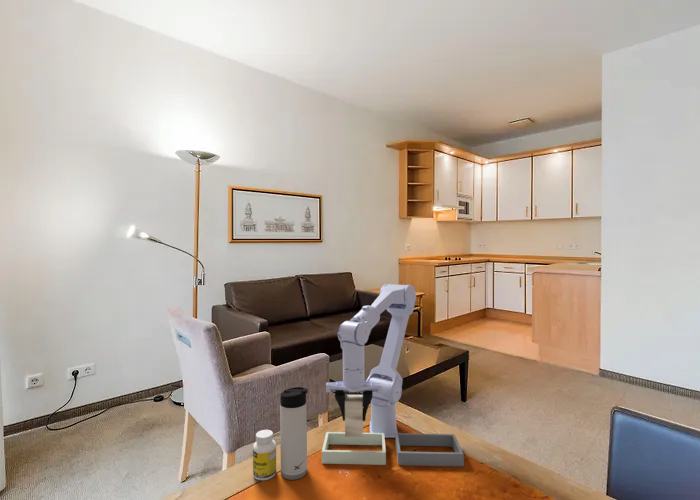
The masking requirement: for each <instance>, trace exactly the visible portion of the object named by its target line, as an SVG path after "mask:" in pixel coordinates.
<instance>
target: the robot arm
mask: <svg viewBox="0 0 700 500" xmlns="http://www.w3.org/2000/svg"><path fill="white" fill-rule="evenodd" d="M416 301H417V292H416V288H415V287H414V285H413V284H394V283H393V284H392V283H385V284H383V285H382V286H381V288H380V290H379V295H378V296H377V297H376V299H374V301H373V302H372V303H371V305H363V306H362V307H361V309H360V310H359V311H358V312H357V313H356V314H355V315H354V316H353V317H352V318H350V320H345V321H344V322H342V323H341V324H340V325H339V327H338V332H337V338H338V339H337V340H338V341H339V342H340V349H341V350H342V381H341V380H340V381H334V382H333V381H332V382H326V384H325V393H331V392H334V398H335V399H334V400H335V401H336V402H337V405H338V407H339V410H340V412H341V417H342V421H344V422H345V397H346V393H348V392H349V393H359V392H360V393H362V395H363V422H365V421H366V417H367V412H368V408H369V406H370V418H371V419H370V421H369V433H384V436H385V438H386V439H387V438H388V439H390V438H391V439H392V438H393V439H394V438H395V433H399V432H398V427H397V420H396V419H397V417H396V413H397V412H396V411H397V410H396V405H397V403H398V402H399V400H401V397H402V394H403V393H402V392H403V388H402V386H403V380H404V379H403V377H402V375H401V374H400V373H399V371H398V370H397V367H398V365H399V364H398V363H399V359H400V355H401V350H402V347H403V343H404V339H405V335H406V331H407V326H408V323H409V319H410V316H411V315H412V314H413V313H414V310H415V309H414V308H415V307H416V306H415V305H416ZM385 310H386V311H387V312H388V313H389V314H390V315H391V319H390V323H389V327H388V331H387V335H386V337H385V338H386V339H385V342H384V346H383V348H382V349H383V350H382V354H381V356H380V361H379V364H378V365H377V366H375V367H373V368H372V369H371V370H370V372H369V375H368V377H367V378H366V377H365V374H366V373H365V370H366V369H365V344H366V343H368V340H369V336H370V335H371V332H372V330H373V328H375V326H376V325H377V324H378V323H379V322H380V321H381V320H380V319H381V314H382V313H383V312H385ZM365 378H366V380H365Z"/></svg>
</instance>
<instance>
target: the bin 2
mask: <svg viewBox="0 0 700 500" xmlns="http://www.w3.org/2000/svg"><path fill="white" fill-rule="evenodd" d="M401 446H404V447H405V446H406V447H407V446H408V447H410V446H412V447H452V448H453V451H454V452H453V451H451V452H450V451H449V452H446V451H443V452H442V451H403V450H402V451H401ZM395 453H396V459H397V466H424V467H425V466H426V467H427V466H429V467H430V466H431V467H464V466H465V461H464V459H465V457H464V452H463V450H462V447H461V445H460V443H459V440H458V438H457V436H456V435H455V433H417V432H415V433H412V432H411V433H409V432H408V433H404V432H398V433H395Z"/></svg>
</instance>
